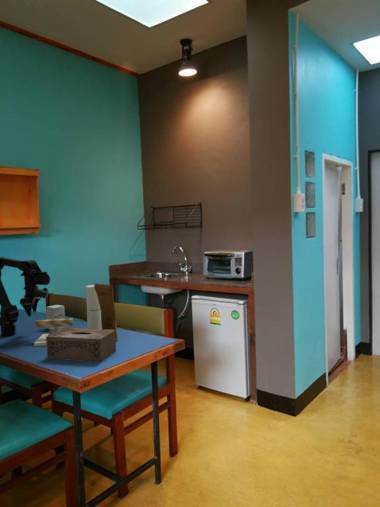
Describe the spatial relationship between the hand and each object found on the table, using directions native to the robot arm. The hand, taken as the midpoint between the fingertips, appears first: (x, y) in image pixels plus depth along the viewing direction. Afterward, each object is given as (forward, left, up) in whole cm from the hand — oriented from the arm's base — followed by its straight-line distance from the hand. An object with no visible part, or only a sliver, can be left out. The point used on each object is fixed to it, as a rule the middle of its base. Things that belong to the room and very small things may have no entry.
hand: (32, 314), depth 207 cm
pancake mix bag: (+40, -11, -12) cm, 43 cm away
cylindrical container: (+31, +3, -12) cm, 33 cm away
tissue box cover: (+30, -34, -12) cm, 47 cm away
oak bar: (+13, -9, -4) cm, 16 cm away
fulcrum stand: (+13, -9, -12) cm, 20 cm away
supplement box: (+8, +16, -12) cm, 22 cm away
